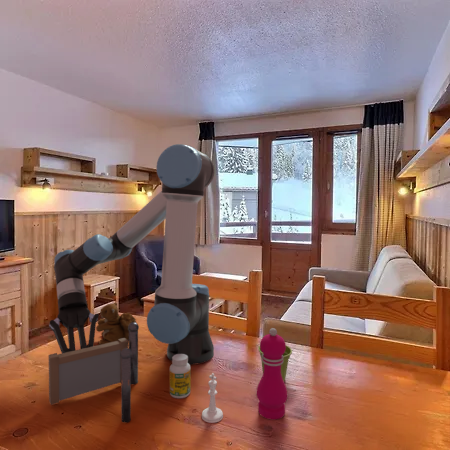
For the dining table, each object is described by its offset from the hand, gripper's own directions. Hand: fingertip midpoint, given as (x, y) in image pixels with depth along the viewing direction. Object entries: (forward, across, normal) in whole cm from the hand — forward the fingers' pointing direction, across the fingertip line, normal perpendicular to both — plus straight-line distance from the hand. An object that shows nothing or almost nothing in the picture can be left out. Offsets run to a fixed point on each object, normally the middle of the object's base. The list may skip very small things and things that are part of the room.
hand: (81, 378), depth 86 cm
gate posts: (+9, -10, +3) cm, 14 cm away
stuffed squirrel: (-19, -17, -26) cm, 36 cm away
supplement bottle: (+12, -22, +6) cm, 25 cm away
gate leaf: (+3, -2, -1) cm, 4 cm away
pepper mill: (+25, -37, +19) cm, 48 cm away
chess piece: (+21, -24, +15) cm, 35 cm away
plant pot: (+17, -48, +11) cm, 51 cm away
